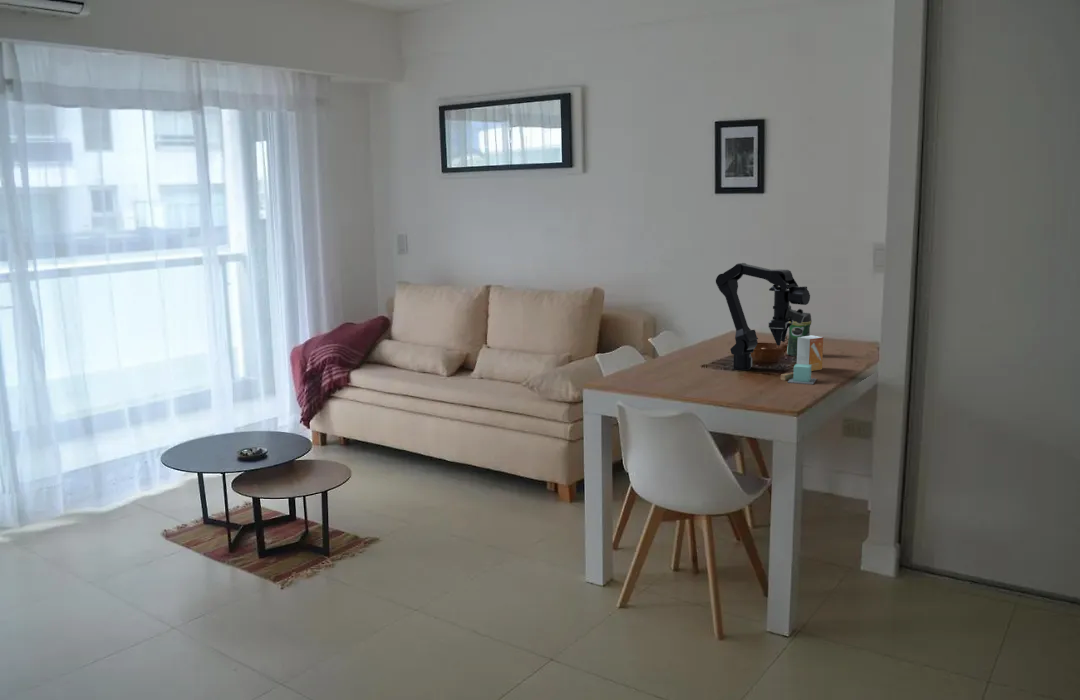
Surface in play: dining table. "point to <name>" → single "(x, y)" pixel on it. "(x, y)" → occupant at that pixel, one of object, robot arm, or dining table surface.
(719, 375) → the dining table surface
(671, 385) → the dining table surface
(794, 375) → the teal block
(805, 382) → the coaster
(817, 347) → the small box
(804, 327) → the coffee jar
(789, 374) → the tan bar
